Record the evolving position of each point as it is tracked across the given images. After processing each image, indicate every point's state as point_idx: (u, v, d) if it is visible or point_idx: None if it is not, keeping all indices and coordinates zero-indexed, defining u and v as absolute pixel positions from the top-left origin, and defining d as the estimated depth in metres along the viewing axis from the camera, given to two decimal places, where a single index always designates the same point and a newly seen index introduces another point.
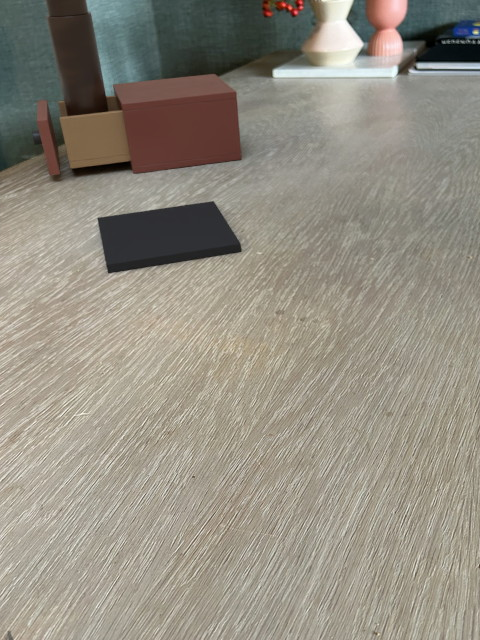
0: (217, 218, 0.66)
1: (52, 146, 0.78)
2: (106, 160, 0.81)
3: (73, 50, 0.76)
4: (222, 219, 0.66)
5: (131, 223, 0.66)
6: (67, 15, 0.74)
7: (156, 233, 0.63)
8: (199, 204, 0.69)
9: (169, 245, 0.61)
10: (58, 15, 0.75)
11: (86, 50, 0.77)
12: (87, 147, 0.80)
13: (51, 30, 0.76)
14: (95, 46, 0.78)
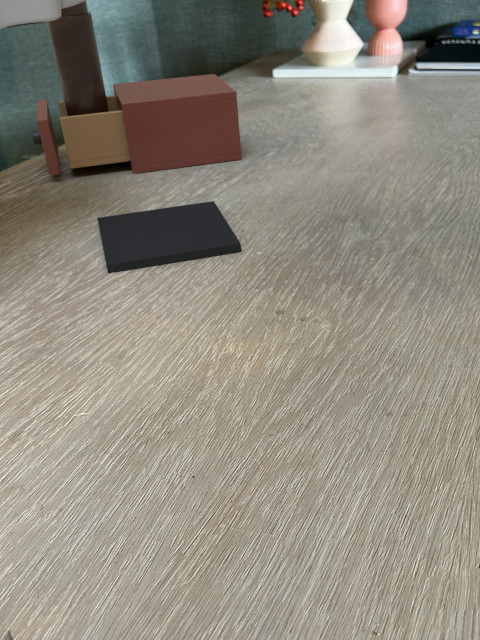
0: (217, 218, 0.66)
1: (52, 146, 0.78)
2: (106, 160, 0.81)
3: (73, 50, 0.76)
4: (222, 219, 0.66)
5: (131, 223, 0.66)
6: (67, 15, 0.74)
7: (156, 233, 0.63)
8: (199, 204, 0.69)
9: (169, 245, 0.61)
10: None
11: (86, 50, 0.77)
12: (87, 147, 0.80)
13: (51, 30, 0.76)
14: (95, 46, 0.78)
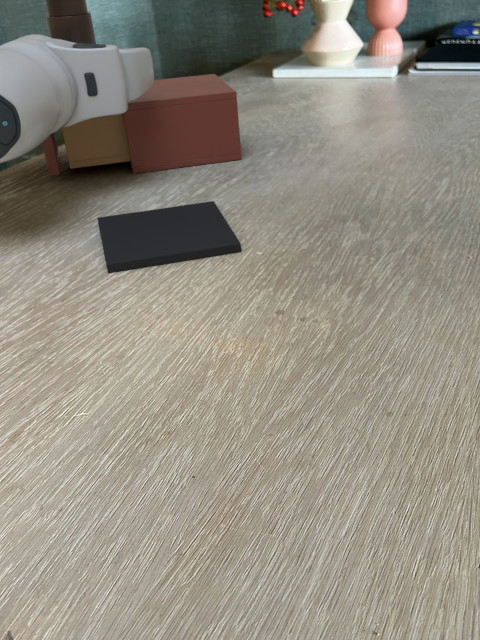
0: (217, 218, 0.66)
1: (52, 146, 0.78)
2: (106, 160, 0.81)
3: None
4: (222, 219, 0.66)
5: (131, 223, 0.66)
6: (67, 15, 0.74)
7: (156, 233, 0.63)
8: (199, 204, 0.69)
9: (169, 245, 0.61)
10: (58, 15, 0.75)
11: None
12: (87, 147, 0.80)
13: (51, 30, 0.76)
14: None
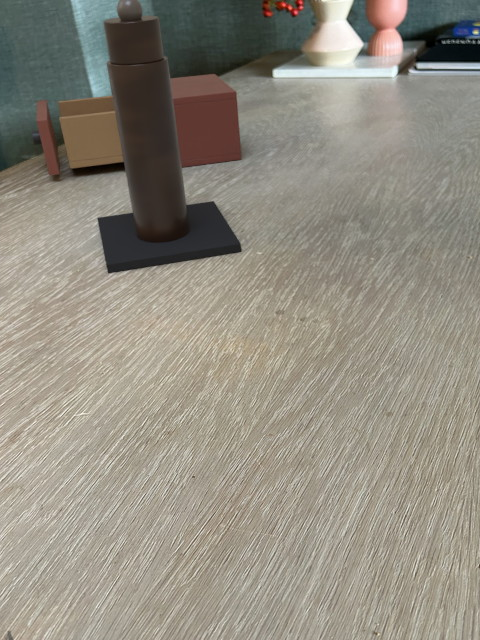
0: (217, 218, 0.66)
1: (52, 146, 0.78)
2: (106, 160, 0.81)
3: (144, 110, 0.55)
4: (222, 219, 0.66)
5: (131, 223, 0.66)
6: (138, 63, 0.53)
7: None
8: (199, 204, 0.69)
9: (169, 245, 0.61)
10: (125, 63, 0.53)
11: (161, 109, 0.56)
12: (87, 147, 0.80)
13: (114, 83, 0.55)
14: (172, 102, 0.57)
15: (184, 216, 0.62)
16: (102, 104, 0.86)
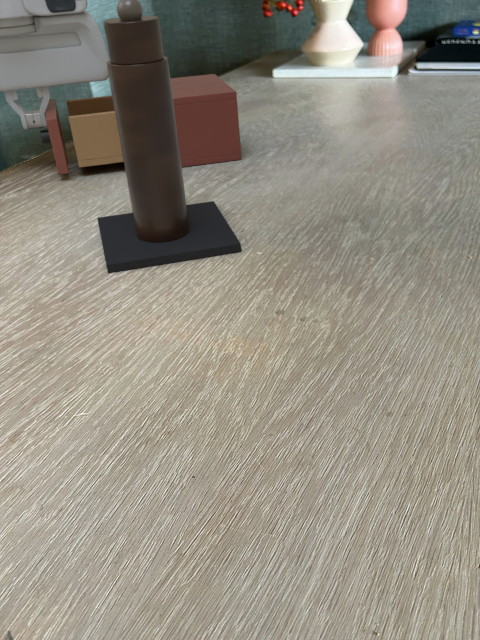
0: (217, 218, 0.66)
1: (61, 145, 0.78)
2: (115, 159, 0.81)
3: (144, 110, 0.55)
4: (222, 219, 0.66)
5: (131, 223, 0.66)
6: (138, 63, 0.53)
7: None
8: (199, 204, 0.69)
9: (169, 245, 0.61)
10: (125, 63, 0.53)
11: (161, 109, 0.56)
12: (96, 146, 0.80)
13: (114, 83, 0.55)
14: (172, 102, 0.57)
15: (184, 216, 0.62)
16: (110, 103, 0.86)
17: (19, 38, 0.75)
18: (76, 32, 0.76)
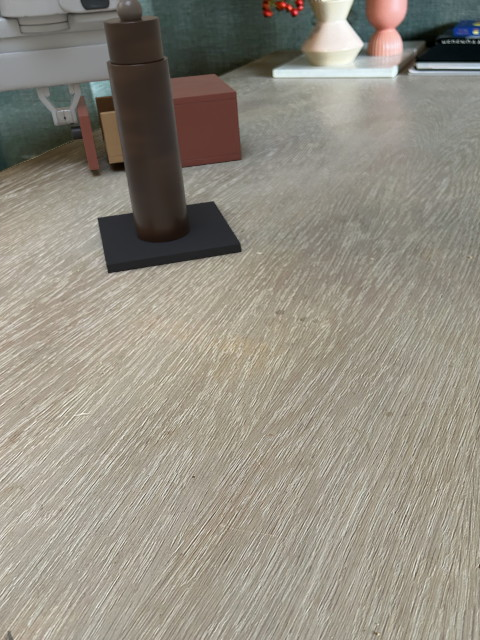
0: (217, 218, 0.66)
1: (92, 141, 0.79)
2: None
3: (144, 110, 0.55)
4: (222, 219, 0.66)
5: (131, 223, 0.66)
6: (138, 63, 0.53)
7: None
8: (199, 204, 0.69)
9: (169, 245, 0.61)
10: (125, 63, 0.53)
11: (161, 109, 0.56)
12: None
13: (114, 83, 0.55)
14: (172, 102, 0.57)
15: (184, 216, 0.62)
16: None
17: (52, 35, 0.76)
18: None
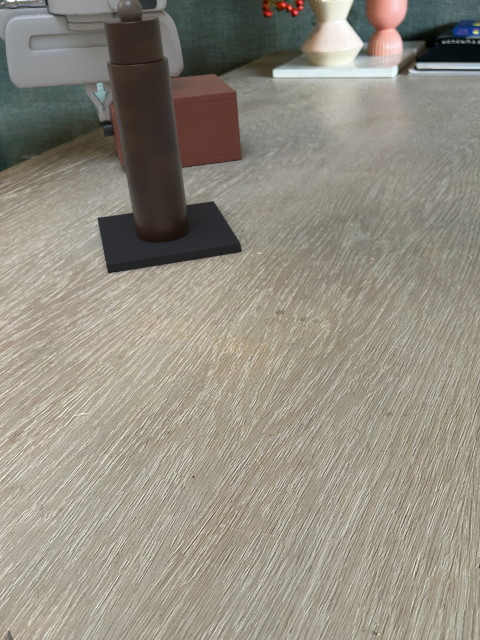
0: (217, 218, 0.66)
1: None
2: None
3: (144, 110, 0.55)
4: (222, 219, 0.66)
5: (131, 223, 0.66)
6: (138, 63, 0.53)
7: None
8: (199, 204, 0.69)
9: (169, 245, 0.61)
10: (125, 63, 0.53)
11: (161, 109, 0.56)
12: None
13: (114, 83, 0.55)
14: (172, 102, 0.57)
15: (184, 216, 0.62)
16: None
17: (98, 33, 0.77)
18: None
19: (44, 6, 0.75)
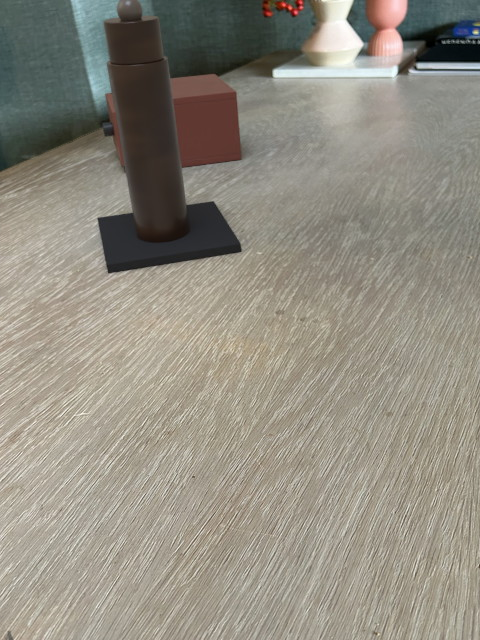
0: (217, 218, 0.66)
1: None
2: None
3: (144, 110, 0.55)
4: (222, 219, 0.66)
5: (131, 223, 0.66)
6: (138, 63, 0.53)
7: None
8: (199, 204, 0.69)
9: (169, 245, 0.61)
10: (125, 63, 0.53)
11: (161, 109, 0.56)
12: None
13: (114, 83, 0.55)
14: (172, 102, 0.57)
15: (184, 216, 0.62)
16: None
17: None
18: None
19: None
